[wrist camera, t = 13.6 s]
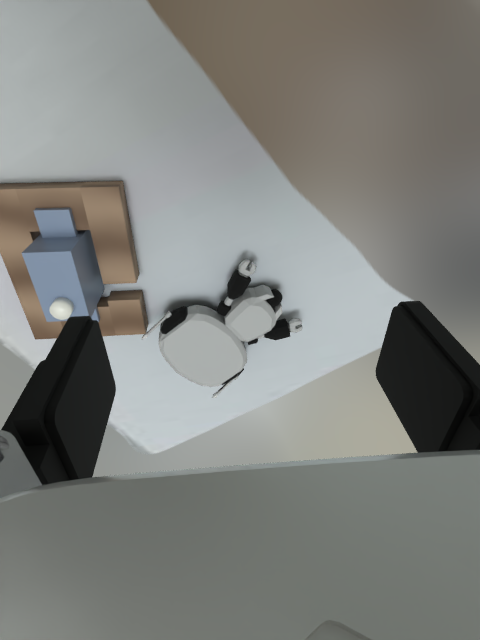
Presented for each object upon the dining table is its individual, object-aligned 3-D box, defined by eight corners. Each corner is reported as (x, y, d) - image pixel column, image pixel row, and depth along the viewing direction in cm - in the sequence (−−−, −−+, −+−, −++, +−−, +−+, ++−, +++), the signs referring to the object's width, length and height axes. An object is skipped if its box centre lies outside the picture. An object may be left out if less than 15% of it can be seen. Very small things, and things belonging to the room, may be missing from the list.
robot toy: (243, 242, 39) (140, 321, 42) (250, 258, 35) (136, 344, 38) (302, 315, 45) (208, 380, 48) (313, 336, 41) (210, 405, 44)
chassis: (-14, 183, 33) (-25, 189, 31) (122, 180, 33) (118, 186, 32) (42, 328, 42) (35, 339, 40) (148, 323, 42) (145, 333, 41)
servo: (39, 201, 34) (5, 228, 28) (83, 200, 34) (58, 226, 28) (72, 309, 41) (51, 349, 35) (109, 308, 41) (93, 346, 35)
